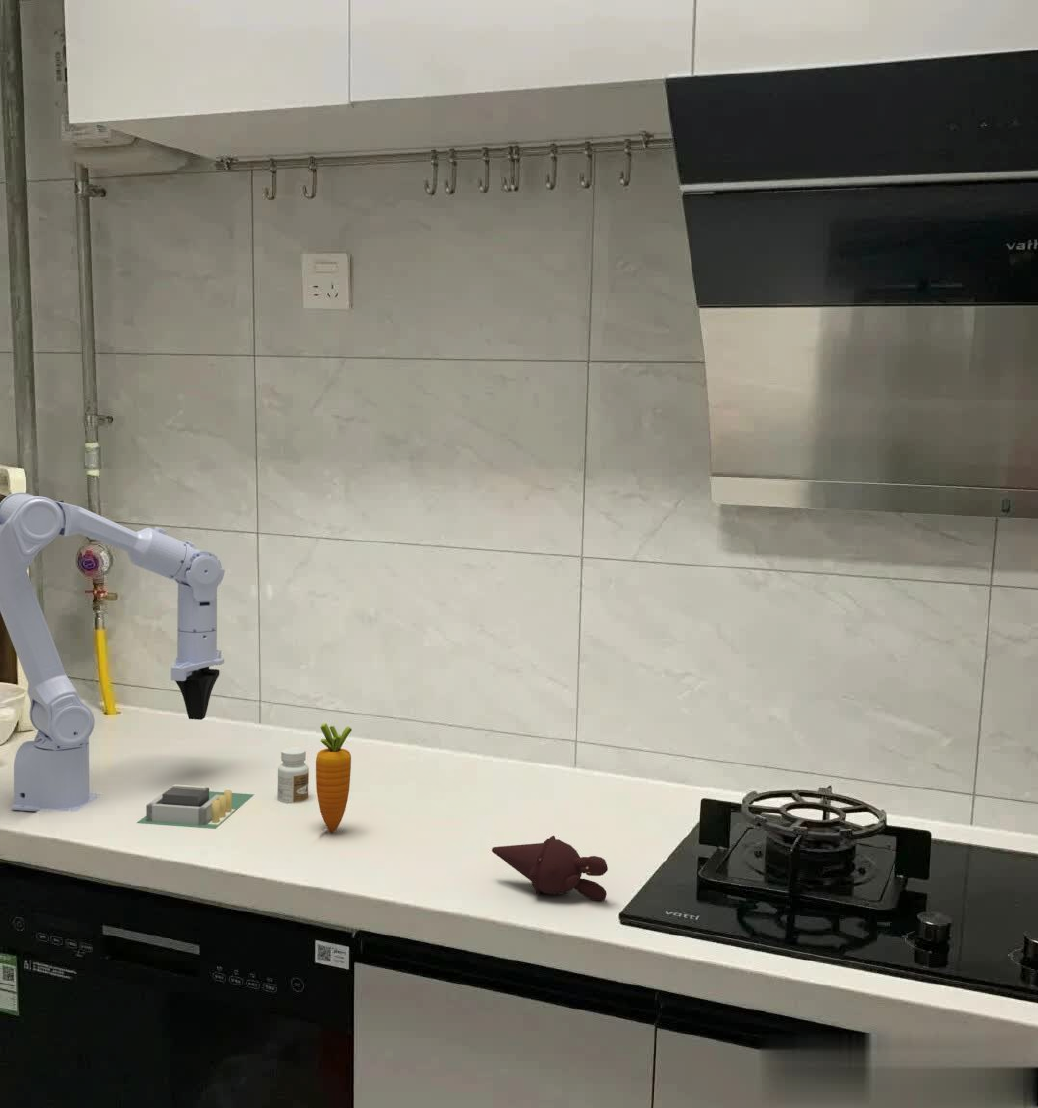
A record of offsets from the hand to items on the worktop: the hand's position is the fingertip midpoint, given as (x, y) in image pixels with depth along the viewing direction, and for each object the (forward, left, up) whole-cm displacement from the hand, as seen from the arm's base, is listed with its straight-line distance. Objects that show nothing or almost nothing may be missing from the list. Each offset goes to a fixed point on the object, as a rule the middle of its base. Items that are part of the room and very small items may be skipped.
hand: (196, 718), depth 175 cm
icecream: (+57, -32, -10) cm, 66 cm away
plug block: (+5, -17, -9) cm, 20 cm away
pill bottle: (+17, -6, -10) cm, 21 cm away
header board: (+5, -13, -10) cm, 17 cm away
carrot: (+26, -17, -10) cm, 33 cm away
